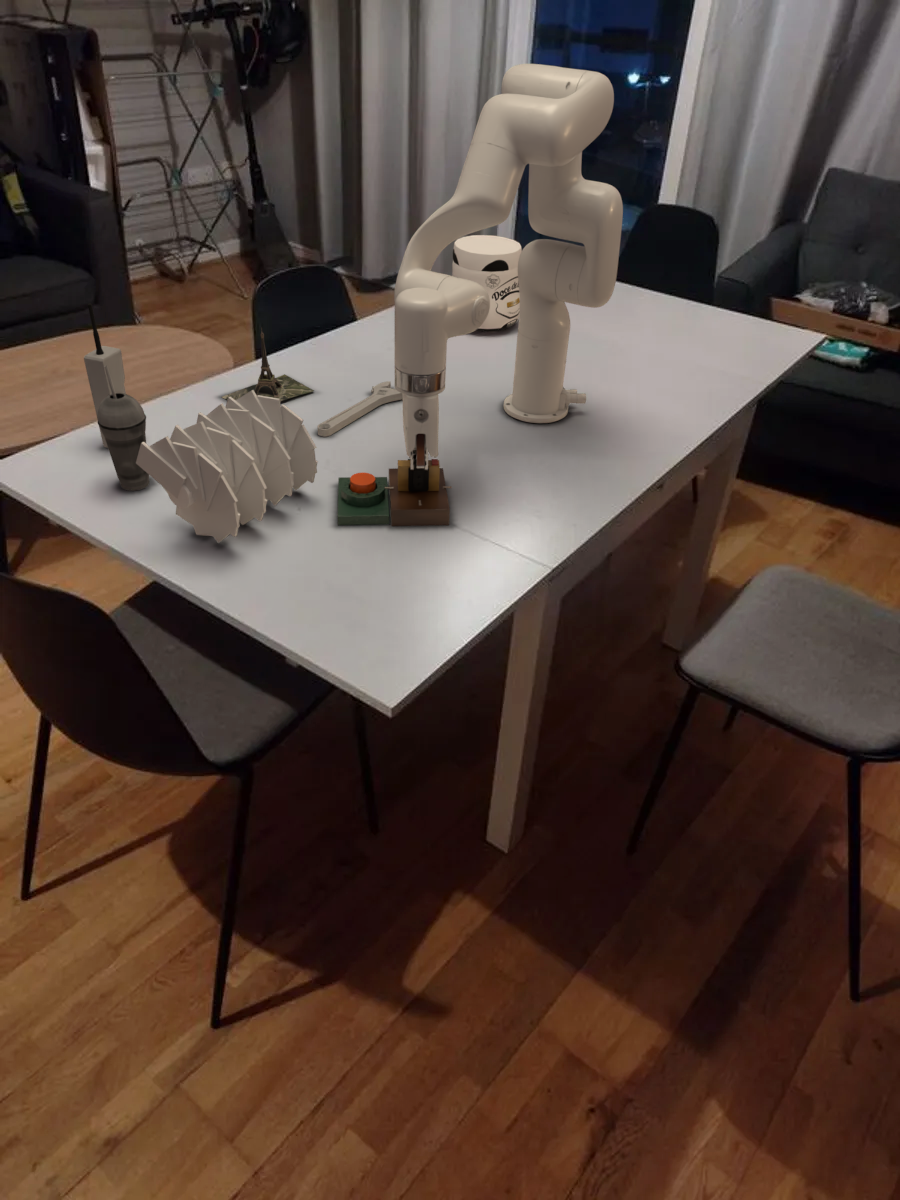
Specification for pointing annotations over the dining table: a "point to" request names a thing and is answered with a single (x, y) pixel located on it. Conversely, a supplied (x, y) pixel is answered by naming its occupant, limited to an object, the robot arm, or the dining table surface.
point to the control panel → (418, 504)
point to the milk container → (491, 275)
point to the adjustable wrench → (360, 408)
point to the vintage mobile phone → (103, 370)
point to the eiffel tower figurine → (272, 383)
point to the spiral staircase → (232, 463)
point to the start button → (362, 483)
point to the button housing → (363, 504)
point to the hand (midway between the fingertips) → (417, 485)
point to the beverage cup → (124, 436)
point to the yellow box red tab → (433, 474)
